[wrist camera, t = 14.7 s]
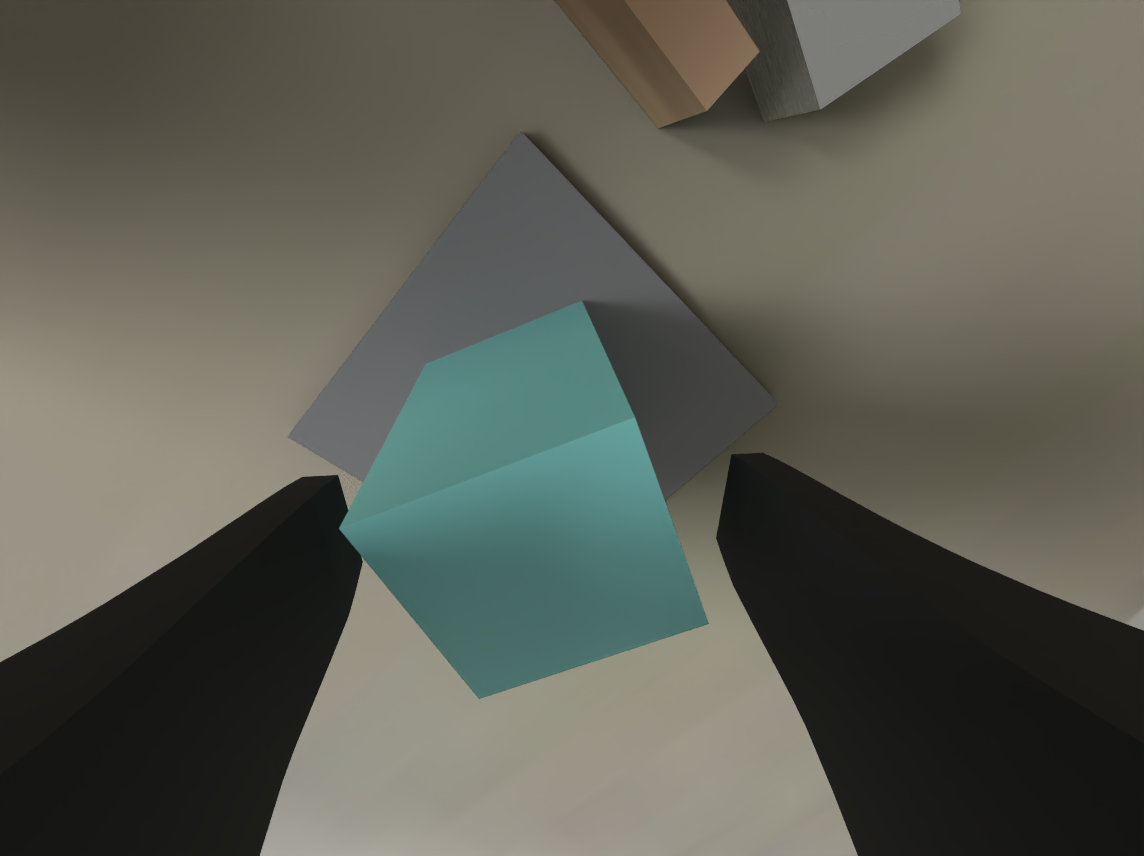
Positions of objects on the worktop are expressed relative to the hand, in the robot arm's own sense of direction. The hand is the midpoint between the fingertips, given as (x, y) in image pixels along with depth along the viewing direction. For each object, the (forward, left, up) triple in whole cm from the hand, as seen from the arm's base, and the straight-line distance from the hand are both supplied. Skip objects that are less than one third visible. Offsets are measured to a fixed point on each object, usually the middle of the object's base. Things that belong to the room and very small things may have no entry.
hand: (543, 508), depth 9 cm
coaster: (0, 0, -4) cm, 4 cm away
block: (0, 0, -4) cm, 4 cm away
